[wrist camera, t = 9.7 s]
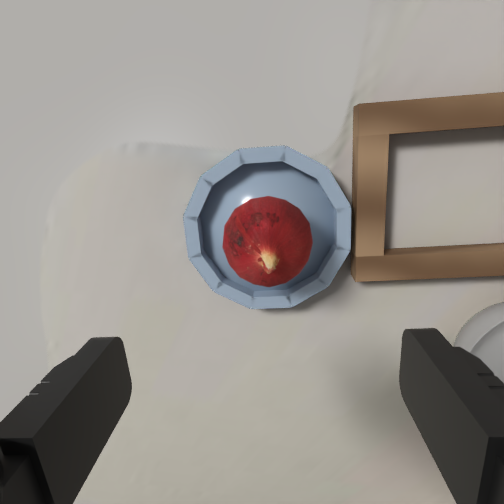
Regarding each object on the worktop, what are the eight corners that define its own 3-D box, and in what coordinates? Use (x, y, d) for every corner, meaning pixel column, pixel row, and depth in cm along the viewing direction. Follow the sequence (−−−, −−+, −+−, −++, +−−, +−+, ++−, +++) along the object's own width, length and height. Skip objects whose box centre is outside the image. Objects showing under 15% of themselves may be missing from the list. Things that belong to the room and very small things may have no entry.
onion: (216, 240, 26) (193, 277, 18) (254, 175, 24) (247, 185, 17) (279, 278, 26) (283, 329, 19) (321, 216, 25) (343, 245, 17)
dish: (182, 153, 25) (174, 153, 23) (345, 141, 24) (352, 140, 22) (200, 300, 28) (195, 311, 26) (344, 294, 27) (349, 305, 26)
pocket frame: (353, 106, 23) (359, 103, 22) (583, 88, 22) (606, 83, 21) (350, 274, 27) (355, 281, 25) (547, 265, 26) (565, 272, 24)
